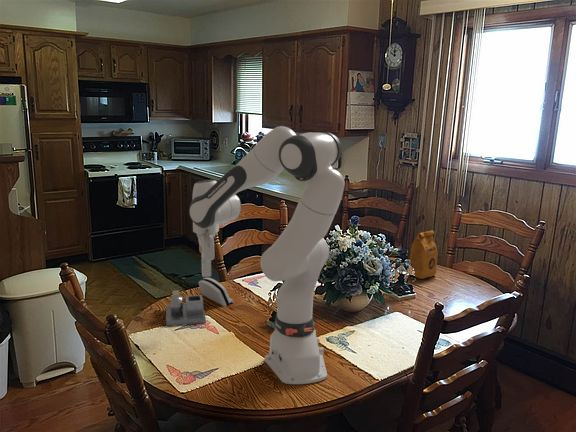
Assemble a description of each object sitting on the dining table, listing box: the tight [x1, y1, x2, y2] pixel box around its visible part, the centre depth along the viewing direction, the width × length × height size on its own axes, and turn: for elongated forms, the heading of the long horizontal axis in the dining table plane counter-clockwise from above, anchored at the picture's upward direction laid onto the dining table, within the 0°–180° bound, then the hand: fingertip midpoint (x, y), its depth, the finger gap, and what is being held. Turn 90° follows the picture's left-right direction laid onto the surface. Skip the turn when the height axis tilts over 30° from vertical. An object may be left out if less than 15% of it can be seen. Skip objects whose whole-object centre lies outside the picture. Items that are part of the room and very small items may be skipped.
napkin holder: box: [198, 277, 235, 307], centre depth 200 cm, size 17×5×10 cm, turn 42°
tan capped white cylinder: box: [198, 245, 212, 278], centre depth 171 cm, size 4×4×10 cm
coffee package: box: [409, 230, 438, 280], centre depth 231 cm, size 10×12×22 cm
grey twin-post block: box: [165, 289, 207, 327], centre depth 184 cm, size 16×14×8 cm
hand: (206, 264), depth 171 cm, fingers closed on tan capped white cylinder, 4 cm apart
